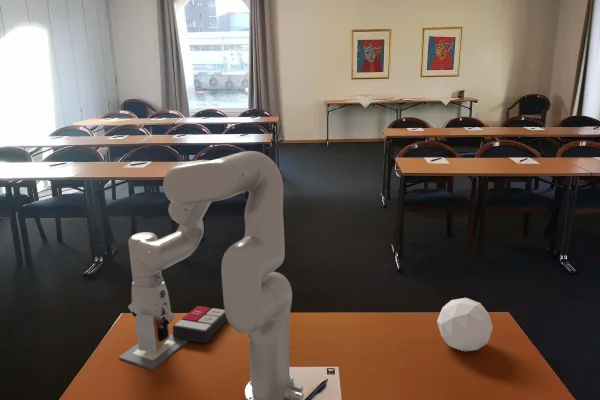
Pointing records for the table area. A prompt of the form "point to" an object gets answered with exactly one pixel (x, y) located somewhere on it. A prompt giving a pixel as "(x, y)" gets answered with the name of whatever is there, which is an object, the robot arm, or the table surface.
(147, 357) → the board
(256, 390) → the robot arm
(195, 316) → the calculator
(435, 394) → the table surface
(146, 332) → the small box
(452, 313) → the geometric sphere
